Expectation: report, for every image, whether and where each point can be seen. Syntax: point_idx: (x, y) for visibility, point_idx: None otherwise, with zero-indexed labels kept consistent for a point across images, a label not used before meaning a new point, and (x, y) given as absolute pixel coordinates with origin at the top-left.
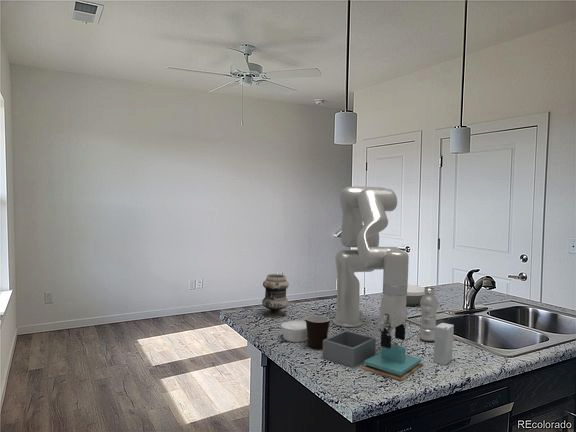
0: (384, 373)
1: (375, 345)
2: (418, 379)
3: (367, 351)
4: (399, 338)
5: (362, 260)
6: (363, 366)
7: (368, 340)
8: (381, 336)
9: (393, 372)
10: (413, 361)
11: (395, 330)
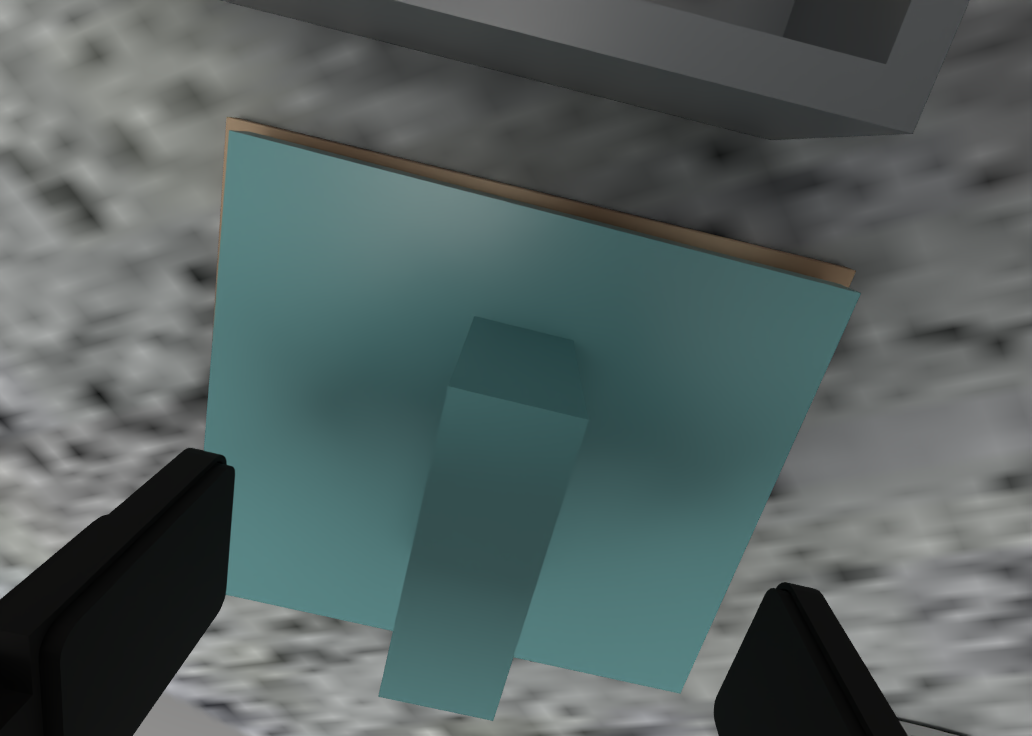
0: None
1: (837, 135)
2: (350, 648)
3: (562, 71)
4: (742, 660)
5: None
6: (259, 126)
7: (694, 24)
8: (46, 579)
9: None
10: (559, 642)
11: (836, 718)
